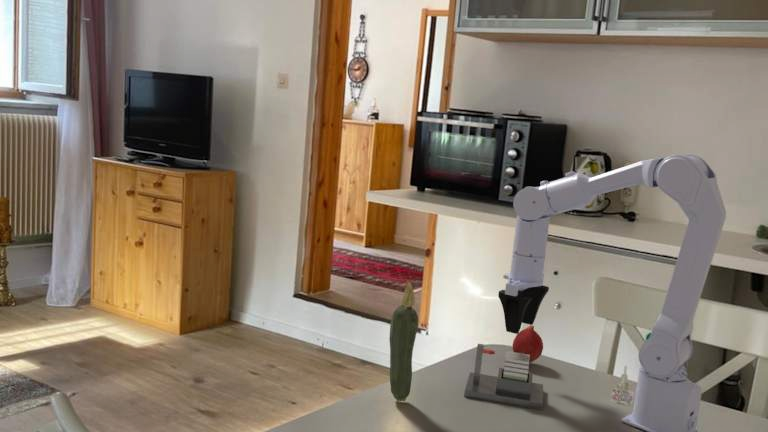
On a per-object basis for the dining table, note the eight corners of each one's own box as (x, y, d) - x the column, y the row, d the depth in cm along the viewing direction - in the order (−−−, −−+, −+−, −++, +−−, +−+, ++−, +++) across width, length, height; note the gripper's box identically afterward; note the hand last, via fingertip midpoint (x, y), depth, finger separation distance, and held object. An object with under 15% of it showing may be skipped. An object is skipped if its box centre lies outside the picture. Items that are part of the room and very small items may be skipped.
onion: (508, 365, 143) (513, 326, 142) (512, 357, 148) (517, 318, 147) (539, 371, 141) (544, 331, 140) (541, 362, 147) (546, 323, 145)
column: (525, 385, 129) (530, 354, 128) (525, 394, 125) (529, 362, 124) (502, 381, 130) (506, 350, 129) (501, 390, 126) (505, 358, 125)
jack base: (542, 390, 131) (548, 347, 130) (541, 410, 122) (548, 363, 121) (469, 378, 134) (474, 336, 132) (464, 396, 125) (469, 351, 124)
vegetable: (406, 410, 117) (419, 287, 114) (380, 405, 118) (392, 283, 115) (411, 400, 121) (424, 281, 118) (385, 395, 122) (397, 278, 119)
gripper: (521, 245, 139) (513, 315, 141) (492, 255, 127) (483, 331, 129) (557, 252, 136) (548, 323, 138) (531, 262, 123) (522, 340, 125)
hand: (519, 327), depth 133 cm, fingers open, 7 cm apart
